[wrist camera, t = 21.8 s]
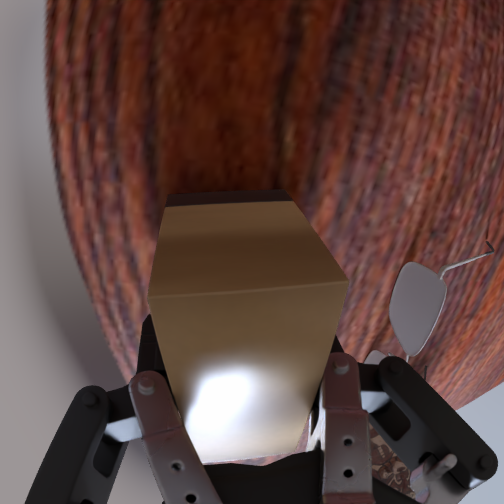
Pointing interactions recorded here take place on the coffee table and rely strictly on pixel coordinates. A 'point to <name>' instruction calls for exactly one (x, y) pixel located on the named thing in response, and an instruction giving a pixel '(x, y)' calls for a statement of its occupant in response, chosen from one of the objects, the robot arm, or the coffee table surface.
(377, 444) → the figurine
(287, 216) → the eraser
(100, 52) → the coffee table surface
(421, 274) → the eyeglasses
